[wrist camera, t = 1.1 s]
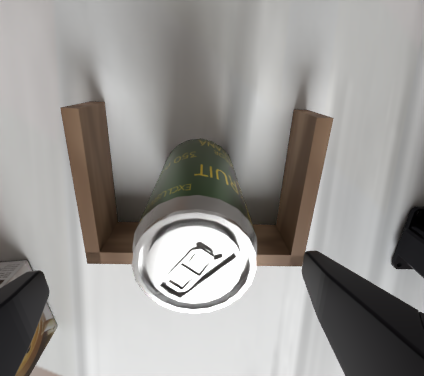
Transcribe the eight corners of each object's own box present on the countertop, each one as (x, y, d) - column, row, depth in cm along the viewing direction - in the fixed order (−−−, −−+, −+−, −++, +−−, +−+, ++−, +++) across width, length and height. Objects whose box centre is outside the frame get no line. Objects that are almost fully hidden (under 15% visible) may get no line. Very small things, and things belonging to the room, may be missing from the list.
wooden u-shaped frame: (306, 110, 20) (333, 118, 16) (285, 234, 24) (301, 266, 20) (90, 101, 19) (60, 107, 15) (107, 231, 23) (87, 263, 19)
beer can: (203, 210, 23) (204, 335, 12) (152, 174, 22) (99, 276, 10) (245, 165, 21) (290, 258, 10) (193, 122, 20) (182, 177, 9)
